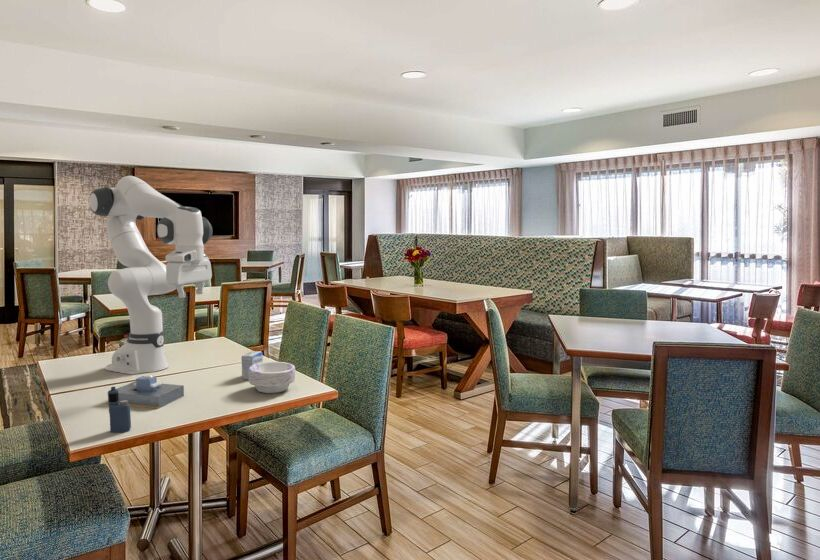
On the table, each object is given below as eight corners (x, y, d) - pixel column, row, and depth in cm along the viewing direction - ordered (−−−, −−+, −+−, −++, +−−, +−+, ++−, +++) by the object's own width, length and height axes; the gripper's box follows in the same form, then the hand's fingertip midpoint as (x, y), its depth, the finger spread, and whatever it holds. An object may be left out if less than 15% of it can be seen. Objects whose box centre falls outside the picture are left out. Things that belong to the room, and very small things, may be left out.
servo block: (133, 400, 170) (132, 376, 170) (140, 397, 173) (139, 373, 172) (153, 402, 169) (152, 377, 168) (160, 399, 172) (159, 375, 171)
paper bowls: (303, 390, 182) (303, 367, 181) (260, 399, 172) (259, 375, 172) (283, 380, 194) (283, 358, 193) (241, 388, 184) (241, 365, 183)
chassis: (106, 403, 166) (106, 392, 166) (135, 391, 179) (135, 381, 178) (157, 408, 163) (157, 397, 162) (183, 396, 175) (183, 385, 174)
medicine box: (253, 380, 194) (252, 356, 193) (241, 379, 194) (241, 355, 194) (263, 374, 201) (262, 351, 200) (252, 373, 202) (251, 350, 201)
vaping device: (112, 429, 146) (110, 385, 145) (132, 428, 147) (130, 385, 146) (108, 432, 144) (105, 388, 142) (128, 432, 144) (126, 388, 143)
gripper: (200, 253, 193) (201, 292, 194) (161, 256, 173) (163, 299, 174) (215, 253, 191) (216, 292, 193) (179, 257, 171) (180, 300, 173)
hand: (191, 295), depth 183 cm, fingers open, 8 cm apart
